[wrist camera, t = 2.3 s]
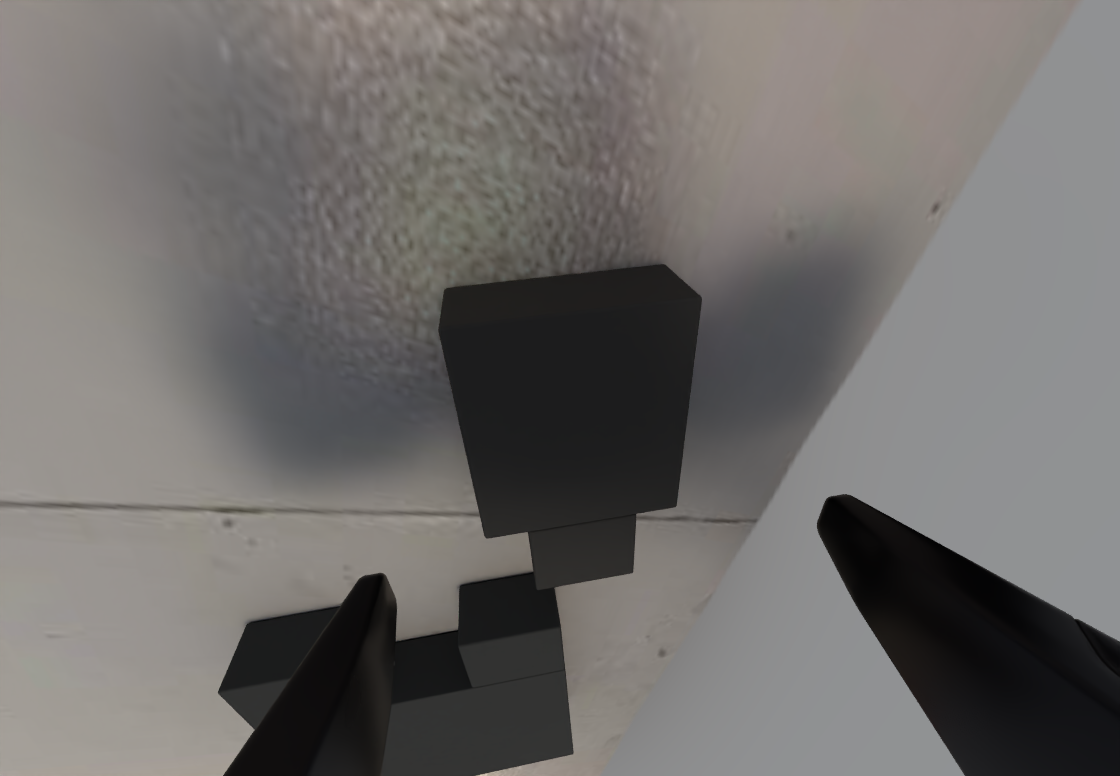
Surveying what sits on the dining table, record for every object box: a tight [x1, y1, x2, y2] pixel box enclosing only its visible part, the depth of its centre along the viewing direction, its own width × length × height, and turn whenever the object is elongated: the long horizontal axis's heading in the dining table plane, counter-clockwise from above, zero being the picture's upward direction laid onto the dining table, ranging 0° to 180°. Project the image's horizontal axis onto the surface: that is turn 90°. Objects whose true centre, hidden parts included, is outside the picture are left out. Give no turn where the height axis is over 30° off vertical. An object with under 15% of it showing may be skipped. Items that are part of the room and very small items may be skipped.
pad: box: [438, 265, 702, 590], centre depth 14 cm, size 6×10×2 cm, turn 3°
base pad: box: [218, 573, 573, 776], centre depth 21 cm, size 12×12×2 cm
